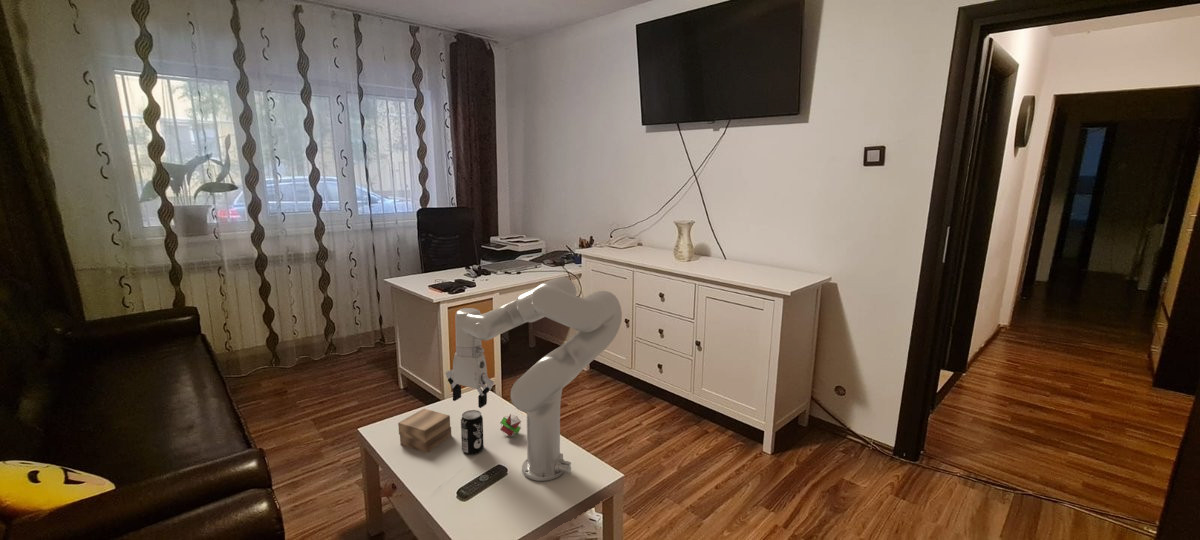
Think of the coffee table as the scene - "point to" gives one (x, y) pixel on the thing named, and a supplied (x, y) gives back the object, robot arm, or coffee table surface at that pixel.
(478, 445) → the beverage can
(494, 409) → the coffee table surface
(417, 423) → the walnut block upper
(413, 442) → the walnut block lower
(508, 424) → the geometric puzzle
